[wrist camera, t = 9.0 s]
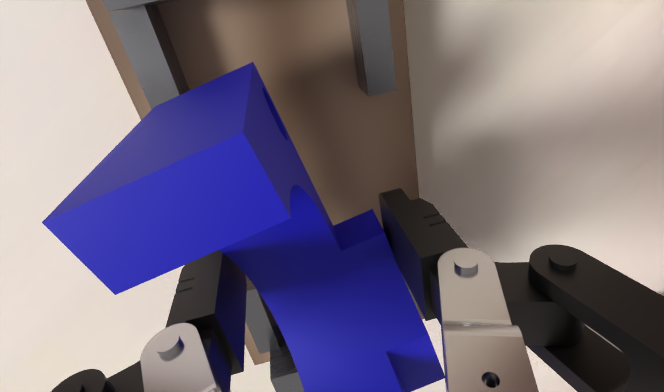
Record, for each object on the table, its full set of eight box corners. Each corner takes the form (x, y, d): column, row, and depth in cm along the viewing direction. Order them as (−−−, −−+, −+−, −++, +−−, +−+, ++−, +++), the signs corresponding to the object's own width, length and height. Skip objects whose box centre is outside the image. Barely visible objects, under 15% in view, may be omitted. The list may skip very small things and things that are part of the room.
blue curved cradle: (415, 315, 16) (489, 470, 11) (320, 354, 16) (348, 525, 11) (303, 38, 10) (348, 85, 5) (155, 106, 10) (41, 221, 5)
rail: (377, -132, 12) (432, -192, 8) (418, 298, 22) (452, 363, 18) (72, -71, 12) (-23, -105, 8) (255, 342, 22) (253, 419, 18)
